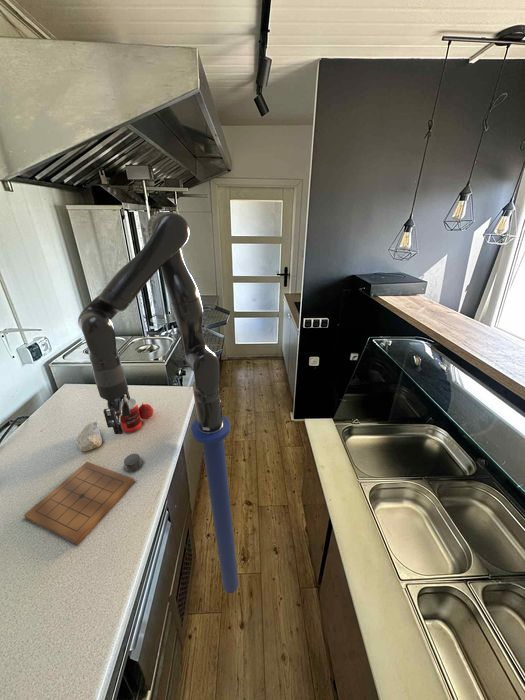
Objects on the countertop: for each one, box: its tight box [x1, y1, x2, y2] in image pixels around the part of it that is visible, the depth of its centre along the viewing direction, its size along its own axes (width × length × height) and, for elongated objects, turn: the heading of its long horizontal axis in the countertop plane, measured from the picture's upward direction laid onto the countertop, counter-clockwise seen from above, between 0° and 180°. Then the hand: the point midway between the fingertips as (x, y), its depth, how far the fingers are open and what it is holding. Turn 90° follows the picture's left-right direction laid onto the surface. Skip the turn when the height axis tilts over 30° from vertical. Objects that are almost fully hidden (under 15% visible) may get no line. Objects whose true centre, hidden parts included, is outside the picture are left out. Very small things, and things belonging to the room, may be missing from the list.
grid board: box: [23, 461, 135, 546], centre depth 84 cm, size 20×20×2 cm
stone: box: [76, 420, 103, 452], centre depth 104 cm, size 8×12×10 cm
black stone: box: [123, 453, 143, 473], centre depth 95 cm, size 5×5×3 cm
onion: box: [138, 402, 154, 420], centre depth 115 cm, size 6×6×8 cm
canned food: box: [115, 397, 143, 434], centre depth 110 cm, size 8×8×11 cm
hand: (123, 423), depth 88 cm, fingers open, 8 cm apart
